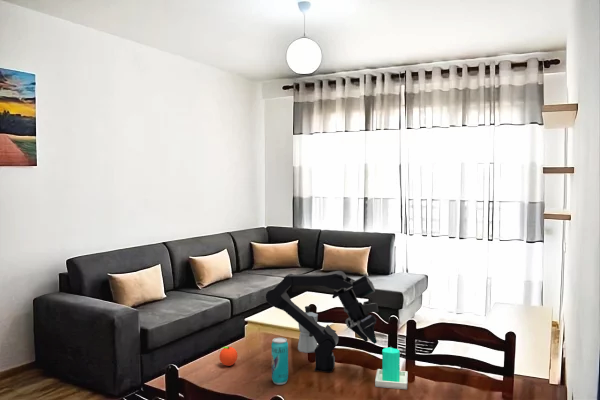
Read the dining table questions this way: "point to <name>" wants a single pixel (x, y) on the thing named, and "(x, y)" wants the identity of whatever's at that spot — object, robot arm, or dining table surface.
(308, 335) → the coffee maker
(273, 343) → the beverage can
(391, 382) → the tray
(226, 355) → the clementine
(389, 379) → the candle
